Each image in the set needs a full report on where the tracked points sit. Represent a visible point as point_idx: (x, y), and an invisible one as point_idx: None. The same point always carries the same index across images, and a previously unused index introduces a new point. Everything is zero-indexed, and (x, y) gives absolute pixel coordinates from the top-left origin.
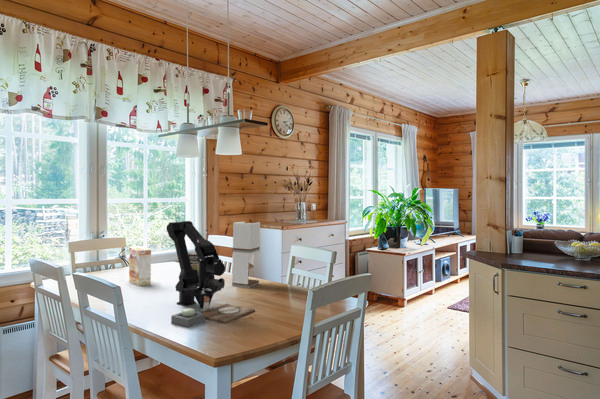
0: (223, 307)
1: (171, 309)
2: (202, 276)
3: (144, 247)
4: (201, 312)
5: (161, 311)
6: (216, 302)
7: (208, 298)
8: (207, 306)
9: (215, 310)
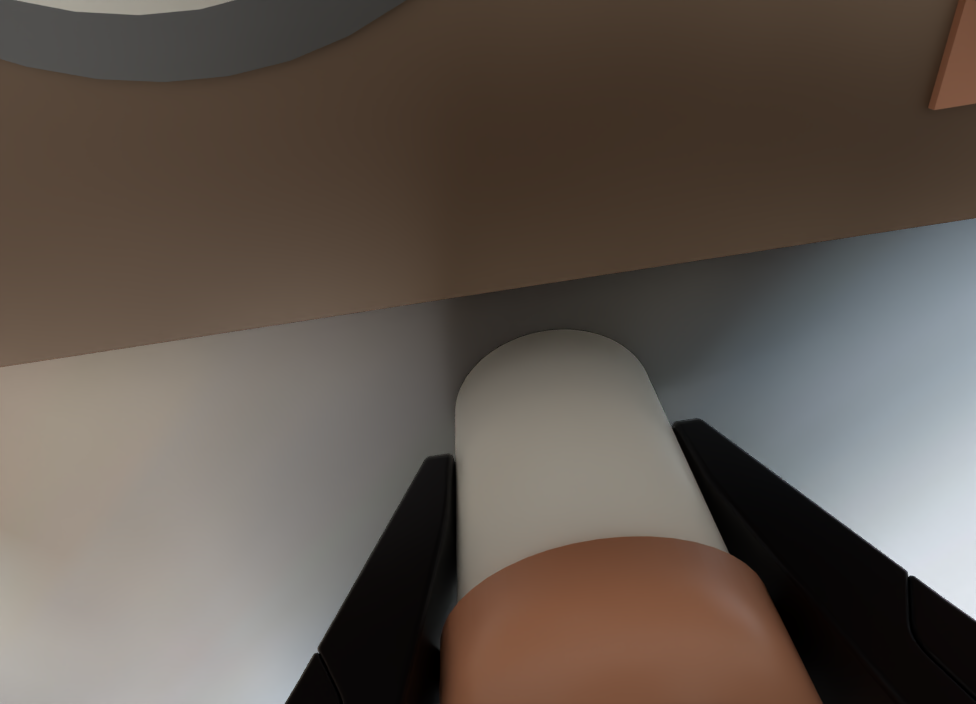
0: (9, 110)
1: None
2: None
3: None
4: (970, 206)
5: None
6: (20, 622)
7: (614, 688)
8: (576, 410)
9: (515, 13)
